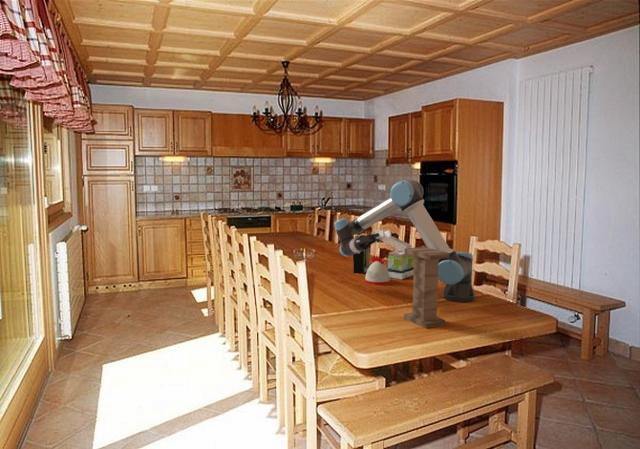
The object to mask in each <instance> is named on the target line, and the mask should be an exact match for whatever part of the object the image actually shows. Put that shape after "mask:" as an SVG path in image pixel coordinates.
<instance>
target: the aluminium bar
mask: <svg viewBox="0 0 640 449" xmlns="http://www.w3.org/2000/svg"><path fill="white" fill-rule="evenodd" d="M379 231H380V229H375V230H372V234H375V233H377V232H379ZM378 239H379V240H381V241H380V242H384V243H385V244H388V245H389V246H392V247H393V248H395V249H396V250H402V251H404V252H405V248H413V245H412V244H410V243H408V242H406V241H403V240H401V239H399V238H396V237H395V236H392V235H388V234H386V233H385V236H383V237H380V238H378Z"/></svg>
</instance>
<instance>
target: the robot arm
mask: <svg viewBox="0 0 640 449" xmlns="http://www.w3.org/2000/svg"><path fill="white" fill-rule="evenodd" d="M423 196H424V187H423V186H422V184H421V183H420V182H419V181H416V180H411V179H410V180H400V181H398V182H397V181H396V182H395V183H394V184H393V185H392V187H391V189H390V192H389V198H387V199H386V200H383V202H381V203H379V204H377V205H376V206H374V207H373V208H371V209H369V210H368V211H366V212H364V213H363V214H361V215H359V216H357V217H355V219H353V220H350V221H348V219H347V217H345V218H341V219H338V220H336V221H334V223H333V226H334V230H335V232H336V235H337V237H338V240H339V242H340V246H339V253H340V255H341V256H343V257H346V258H348V257H351V256H352V257H353V255H354V254H356V253H358V254H359V253H360V252H361V251H364V250H367V249H368V248H369V249H370V246H371V245H373V244H375V243H378V244H379V243H380V242H382V241H381V240H379V239H378V238H380V237H383V236H385V233H386V234H388V235H390V236H392V231H391V229H386V230H385V229H381V230H379V232H377V233H375V234H373V233H372V234H371V233H370V234H365V235H364V234H361V233H362V232H363V231H365V230H366V229H368V228H369V227H372V226H373V225H375V224H377V223H378V222H380V221H382V220H383V219H385V218H387V217H389V216H390V215H392V214H394V213H395V212H397V211H399V210H401V212H402V213H403V214H406V215H407V216H408V217H409V220H410V221H411V223H412V225H413V226H414V227H415V230H416V232H418V234H419V236H420V237H421V239H422V241H423V243H424V244H425V246H426V248H431V249H435V250H439V251H444V252H448V253H450V256H449V258H443V259H439V265H438V281H440V282H441V283H443V284H445V286H444V289H443V292H442V298H443V299H444V300H447V301H451V302H455V303H469V302H473V301H475V300H476V299H475V297H476V295H475V291H474V288H473V284H472V283H473V282H472V281H473V280H472V279H473V265H474V264H473V261H474V257H473V254H472V253H471V252H465V251H456V249H452V248H450V246H449V245H448V243H447V242H446V239H445V238H444V237H443V235H442V233H441V232H440V231H439V228H438V227H437V225H436V223H435V222H434V220H433V219H432V217H431V216H430V213H429V212H428V211H427V209H426V207H425V205H424V204H425V199H424V198H423ZM360 234H361V235H360ZM355 235H357V236H358V235H359V236H358V237H356V238H355V237H354V236H355Z"/></svg>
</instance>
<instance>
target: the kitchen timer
mask: <svg viewBox="0 0 640 449" xmlns="http://www.w3.org/2000/svg"><path fill="white" fill-rule="evenodd" d="M371 261H372V263H371V264H370V267H368V268H367V269H368V270H367V272H365V277H364V278H365V279H364V283H366V284H368V285H373V286H386V285H390V283H391V277H390V275H389V272H388V266H386V264H384V263H385V260H383V257H382V258H381V255H375V254H374V255H373V257H371Z"/></svg>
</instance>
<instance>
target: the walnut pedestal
mask: <svg viewBox="0 0 640 449" xmlns="http://www.w3.org/2000/svg"><path fill="white" fill-rule="evenodd" d="M405 254H409V255H413V256H414V275H413V279H412V280H413V283H412V285H413V286H412V310H411V311H412V312H408V313H403V319H405V320H407V321H409V322H410V323H413V324H416V325H418V326H420V327H422V328H424V329H430V328H433V327H434V328H436V327H440V326H445V325H446V319H444V318H441V317H439V316H437V313H438V311H437V310H438V290H439V286H438V284H439V279H438V265H439V259H443V258H449V256H450V253H448V252H444V251H439V250H435V249H431V248H427V246H426V247H425V246H419V247H412V248H405Z"/></svg>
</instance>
